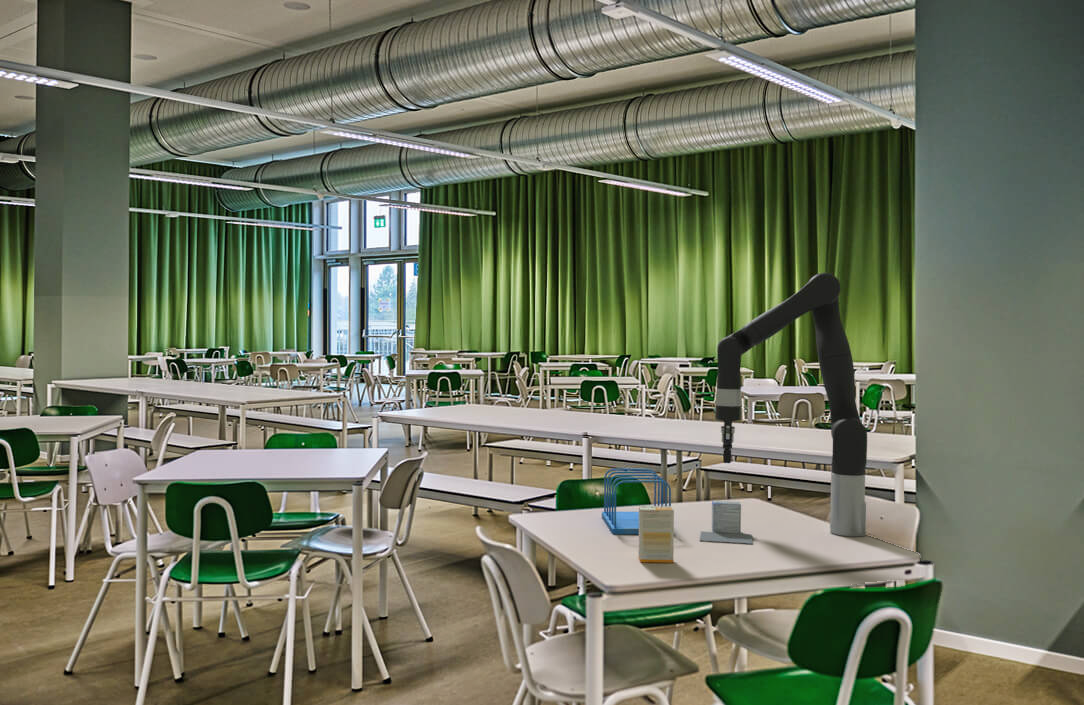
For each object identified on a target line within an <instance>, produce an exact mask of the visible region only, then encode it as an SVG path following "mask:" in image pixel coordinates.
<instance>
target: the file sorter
mask: <svg viewBox="0 0 1084 705" xmlns="http://www.w3.org/2000/svg"><path fill="white" fill-rule="evenodd" d="M614 474H615V475H614ZM612 475H613V476H612ZM611 476H612V477H611ZM614 478H615V479H614ZM619 480H621V481H619ZM612 481H613V482H612ZM623 483H654V485H653V486H654V490H653V492H654V493H653V494H654V495H653V496H654V498H653V502H654V503H653V506H669V507H672V490H671V485H670V484H669V483H668V482H667V481H666V480H665V479H664V478H662V477H661V476H660V475H658V473H656V472H655V471H654V470H653V469H649V468H610V469H609V470H607V471H606V472H605V474H604V482H603V487H604V488H603V494H604V495H603V501H604V502H603V511H601V518H602V519H603V522H604V523H605V524H606V526H607V527H608V529H609V531H610V533H611V534H612V535H639V511H617V488H618V486H619V485H621V484H623ZM660 491H661V492H660Z"/></svg>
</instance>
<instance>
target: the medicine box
mask: <svg viewBox="0 0 1084 705" xmlns="http://www.w3.org/2000/svg"><path fill="white" fill-rule="evenodd" d="M741 521H742V504H741V502H740V501H739V500H738V501H736V500H712V501H711V532H720V533H737V534H742V531H741V530H742V529H741V528H742V527H741V526H742V522H741Z"/></svg>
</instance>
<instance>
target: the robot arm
mask: <svg viewBox="0 0 1084 705" xmlns="http://www.w3.org/2000/svg"><path fill="white" fill-rule="evenodd" d="M841 289H842V288H841V282H840V280H839V279H838V278H837V276H835V275H833V274H831V273H828V272H821V273H817V274H815V275H814V276H812V277H811V278H810V279H809V281H808V282H807V283H806V284H805V285H804V286H803V287H801V288H800V289H799V290H798V291H797V292H795V293H794V294H793V295H791V296H790V297H788V298H787V299H785V300H784V301H782V302H780V303H779V304H777V305H775V306H774V307H772V308H770V309H768V310H766V311H765V312H763V313H761V314H760V315H758V316H757V317H755V318H754V319H752V320H751V321H748V322H747V323H746V324H744V326H743V327H742V328H740V329H739V330H737V331H735V332H733V333H732V334H729V335H727V336H725V337H723V338H722V339H720V340H719V342H718V344H717V346H716V347H717V352H716V354H717V355H716V356H717V358H716V359H717V374H716V392H715V409H714V410H715V411H714V419H715V420H717V421H723V425H722V426H720V432H721V442H722V450H723V451H722V452H723V459H722V460H723V463H724V464H731V463H732V450H733V443H734V442H735V440H734V437H735V436H734V435H735V432H736V430H735V429H736V428H735V426H733V422H739V421H741V420H742V397H743V396H742V390H741V389H742V373H741V372H742V371H741V366H742V365H741V363H742V355H744V354H746V353H747V352H749V351H750V350H751V349H753V348H754V347H756V346H758V345H760V344H763V343H764V342H765V341H766V340H769V339H770V338H772V337H773V336H775V335H777V333H779V332H781V331H782V330H784V329H785V328H786V327H787V326H789V325H790V324H792V323H794V321H796V320H797V319H799V318H800V317H802V316H804V315H805V314H808V312H811V313H812V317H813V321H814V327H815V328H814V329H815V340H816V341H815V342H816V351H817V359H818V364H819V371H820V375H821V378H822V383H823V386H824V389H825V393H826V396H827V400H828V404H829V414H830V430H831V431H830V433H831V439H832V456H831V464H830V465H831V466H830V467H831V468H830V469H831V470H830V512H829V513H830V519H829V520H830V522H829V523H830V524H829V530H830V533H831V534H833V535H837V536H844V537H866V535H867V534H866V533H867V531H866V527H867V524H866V523H867V521H866V520H867V502H866V499H865V498H866V467H867V462H868V461H867V460H868V459H867V458H868V456H867V455H868V432H867V428H866V427H865V425H864V424H863V423H862V422H861V418H860V415H859V411H858V407H857V402H856V395H855V391H856V390H855V389H856V388H855V387H856V385H855V383H856V382H855V380H856V378H855V369H854V368H855V367H854V361H853V356H852V351H851V350H852V349H851V346H850V342H849V339H848V336H847V334H846V331H845V329H844V326H843V322H842V318H841V314H840V302H839V299H840V298H839V296H840V294H841Z"/></svg>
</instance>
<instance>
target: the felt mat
mask: <svg viewBox="0 0 1084 705" xmlns="http://www.w3.org/2000/svg"><path fill="white" fill-rule="evenodd" d="M699 534H700V536H699V542H703V541H711V542H710V543H720V542H729V543H728V544H736V543H746V544H745V545H752V544H754V543H753V537H752V533H741V534H737V533H720V532H712V531H703V530H702V531H700V533H699Z"/></svg>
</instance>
